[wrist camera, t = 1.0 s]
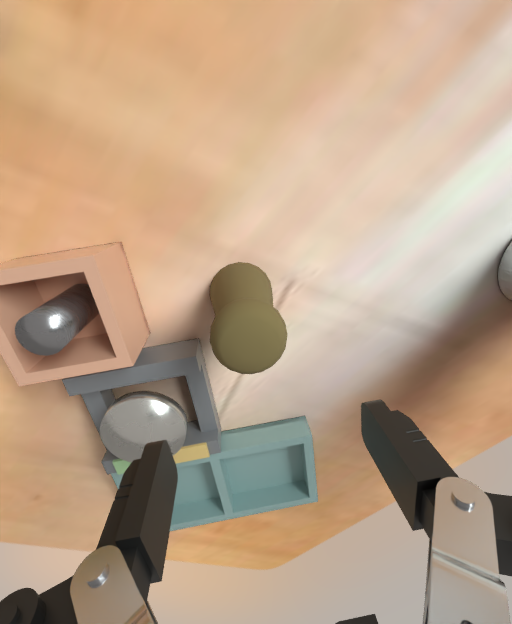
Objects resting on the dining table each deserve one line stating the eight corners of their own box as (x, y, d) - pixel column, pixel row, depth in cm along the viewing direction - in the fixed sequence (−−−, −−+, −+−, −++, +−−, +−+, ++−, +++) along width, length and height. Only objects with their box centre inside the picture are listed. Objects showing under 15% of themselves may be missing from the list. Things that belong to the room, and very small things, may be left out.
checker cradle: (198, 338, 30) (195, 357, 26) (221, 428, 34) (220, 454, 31) (79, 359, 29) (59, 382, 26) (118, 447, 34) (106, 476, 30)
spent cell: (96, 280, 26) (55, 309, 20) (108, 313, 27) (73, 351, 21) (60, 286, 26) (5, 318, 19) (74, 319, 27) (27, 359, 21)
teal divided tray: (304, 415, 35) (311, 434, 32) (311, 479, 39) (317, 501, 36) (119, 450, 34) (110, 473, 31) (146, 512, 38) (140, 537, 36)
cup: (121, 241, 26) (93, 255, 20) (150, 333, 29) (133, 366, 24) (16, 258, 25) (-43, 277, 20) (58, 349, 29) (18, 386, 23)
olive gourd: (250, 331, 30) (264, 402, 20) (198, 303, 28) (183, 364, 18) (284, 283, 29) (317, 333, 18) (230, 249, 27) (235, 284, 17)
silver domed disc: (180, 369, 29) (174, 392, 26) (197, 427, 32) (194, 455, 29) (103, 383, 29) (87, 408, 25) (127, 440, 32) (115, 470, 28)
